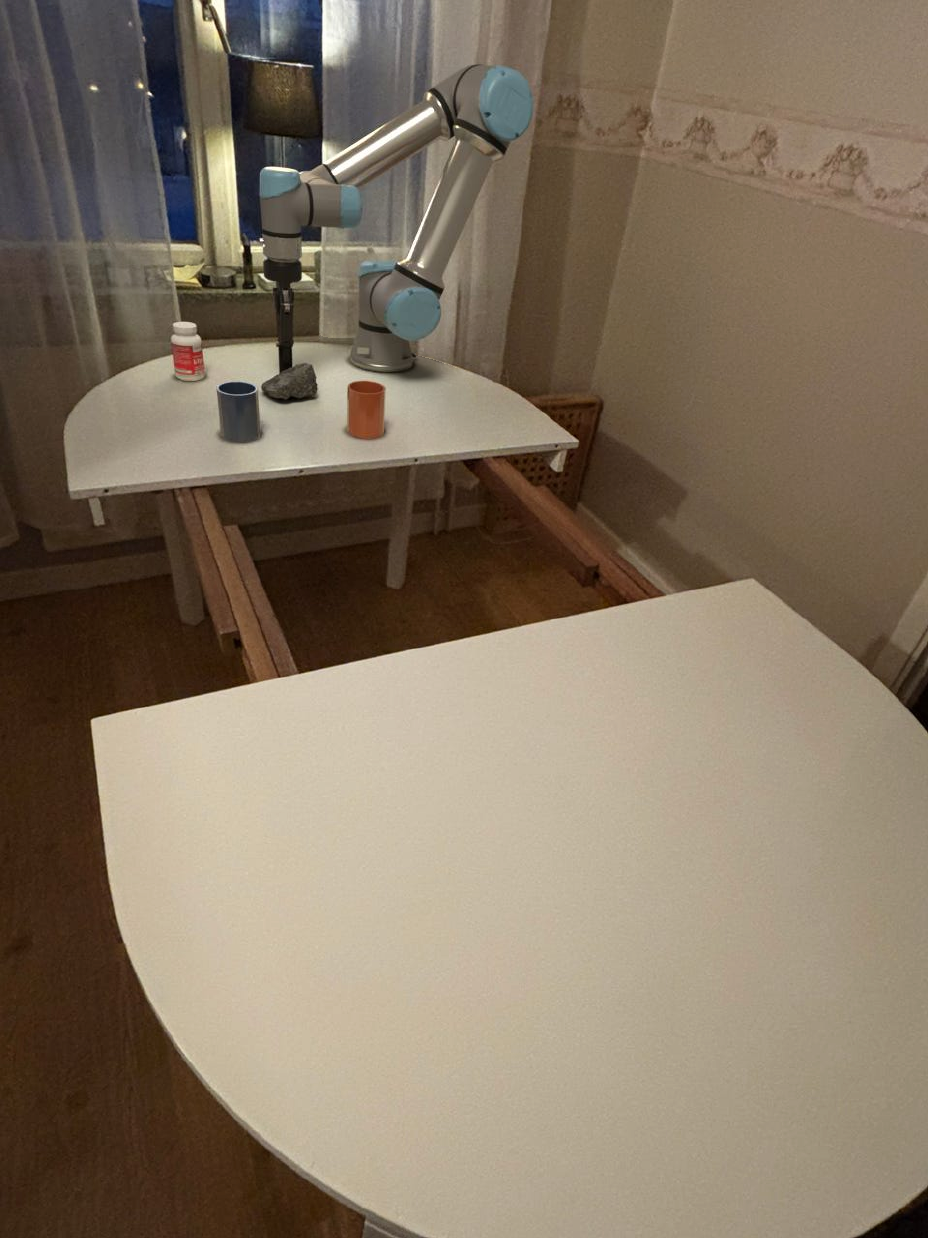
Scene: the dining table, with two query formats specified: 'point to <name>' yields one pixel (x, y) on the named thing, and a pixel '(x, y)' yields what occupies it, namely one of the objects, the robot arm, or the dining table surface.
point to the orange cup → (365, 409)
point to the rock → (292, 382)
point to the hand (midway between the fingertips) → (286, 375)
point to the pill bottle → (187, 352)
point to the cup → (238, 411)
